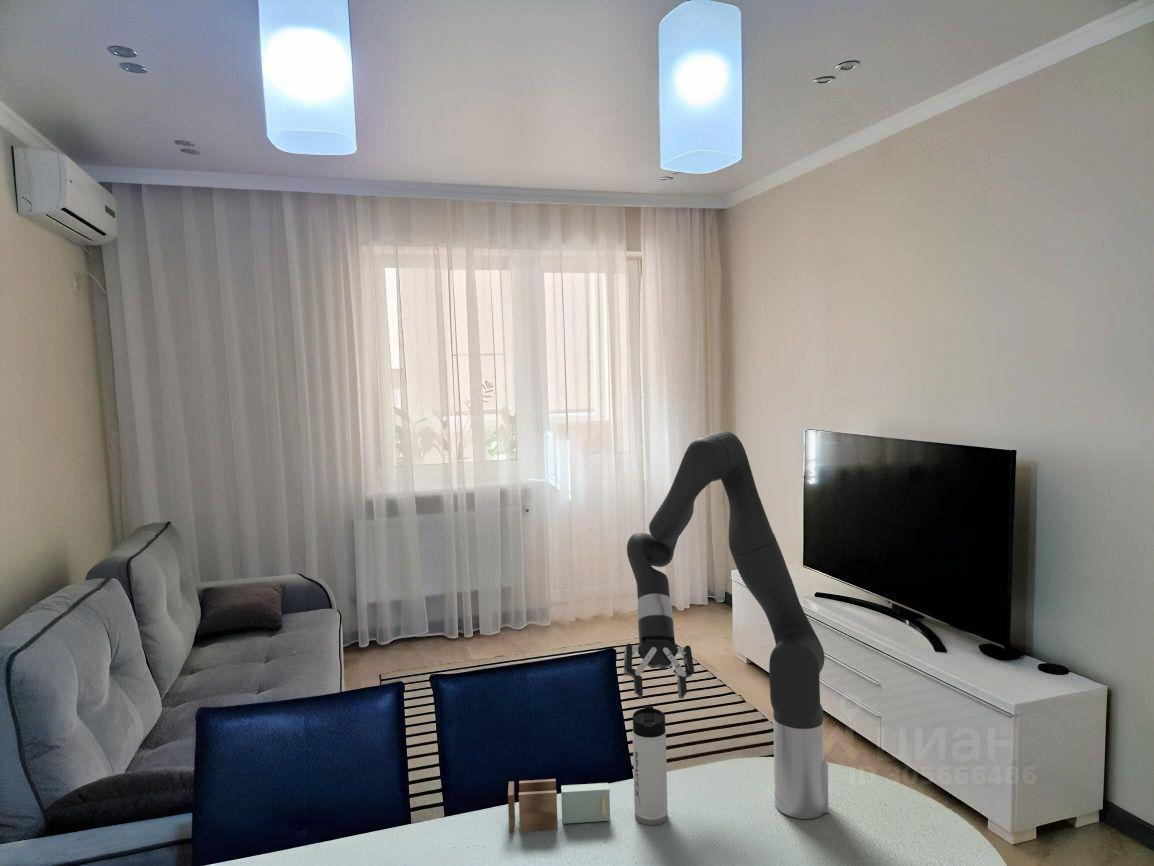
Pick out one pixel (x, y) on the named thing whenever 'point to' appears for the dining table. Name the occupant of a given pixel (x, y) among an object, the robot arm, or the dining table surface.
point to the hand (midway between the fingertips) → (661, 697)
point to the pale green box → (585, 803)
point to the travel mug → (650, 766)
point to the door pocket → (534, 805)
